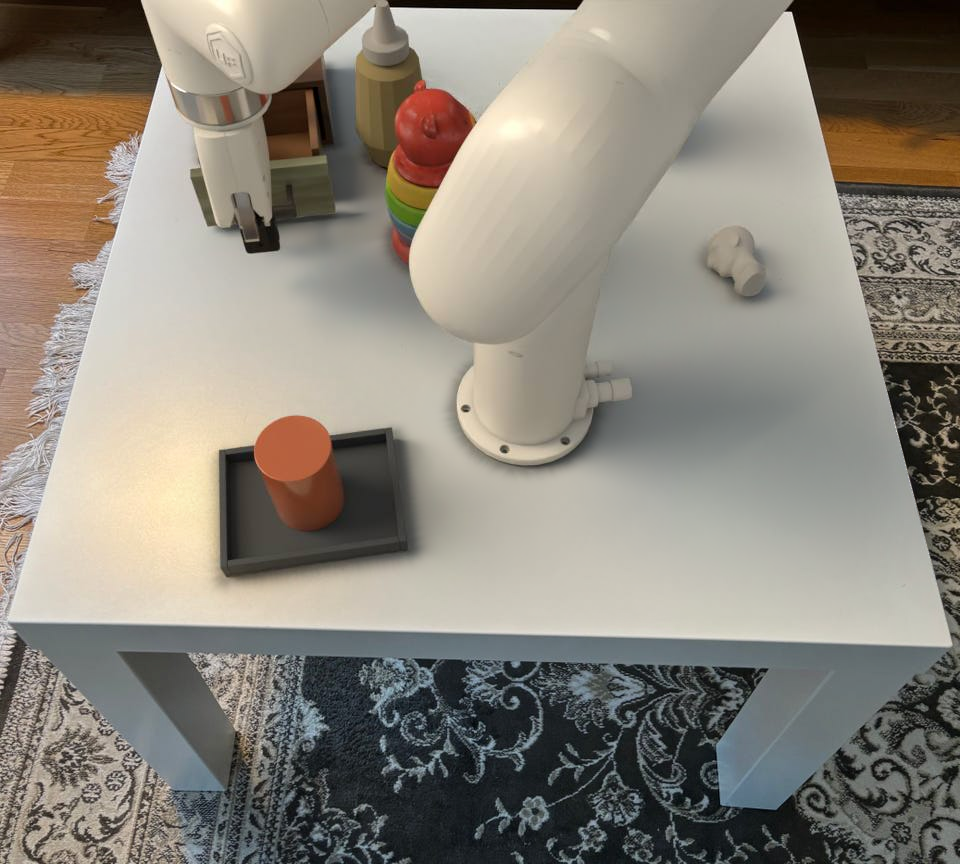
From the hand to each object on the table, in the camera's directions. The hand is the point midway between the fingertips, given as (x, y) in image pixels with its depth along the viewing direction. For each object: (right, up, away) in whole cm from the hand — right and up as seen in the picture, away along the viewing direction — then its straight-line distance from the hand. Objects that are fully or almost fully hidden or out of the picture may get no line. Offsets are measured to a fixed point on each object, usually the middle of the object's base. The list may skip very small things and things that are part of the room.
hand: (263, 245), depth 85 cm
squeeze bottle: (+11, +14, +15) cm, 23 cm away
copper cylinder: (+6, -24, -8) cm, 26 cm away
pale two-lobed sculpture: (+46, -2, +7) cm, 47 cm away
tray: (+6, -24, -8) cm, 26 cm away
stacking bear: (+16, +2, +8) cm, 19 cm away
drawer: (-2, +8, +10) cm, 13 cm away
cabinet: (-4, +19, +18) cm, 27 cm away
